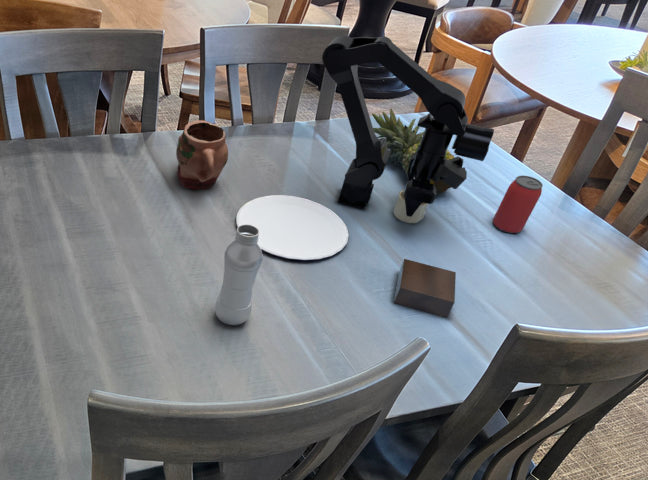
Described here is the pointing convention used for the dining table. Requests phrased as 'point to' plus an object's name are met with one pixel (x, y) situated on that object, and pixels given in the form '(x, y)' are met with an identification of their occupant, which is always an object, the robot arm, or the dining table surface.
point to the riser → (425, 288)
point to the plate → (294, 227)
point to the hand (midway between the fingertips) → (410, 208)
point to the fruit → (404, 143)
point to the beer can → (518, 204)
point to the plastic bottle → (239, 276)
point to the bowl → (401, 210)
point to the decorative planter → (201, 154)
